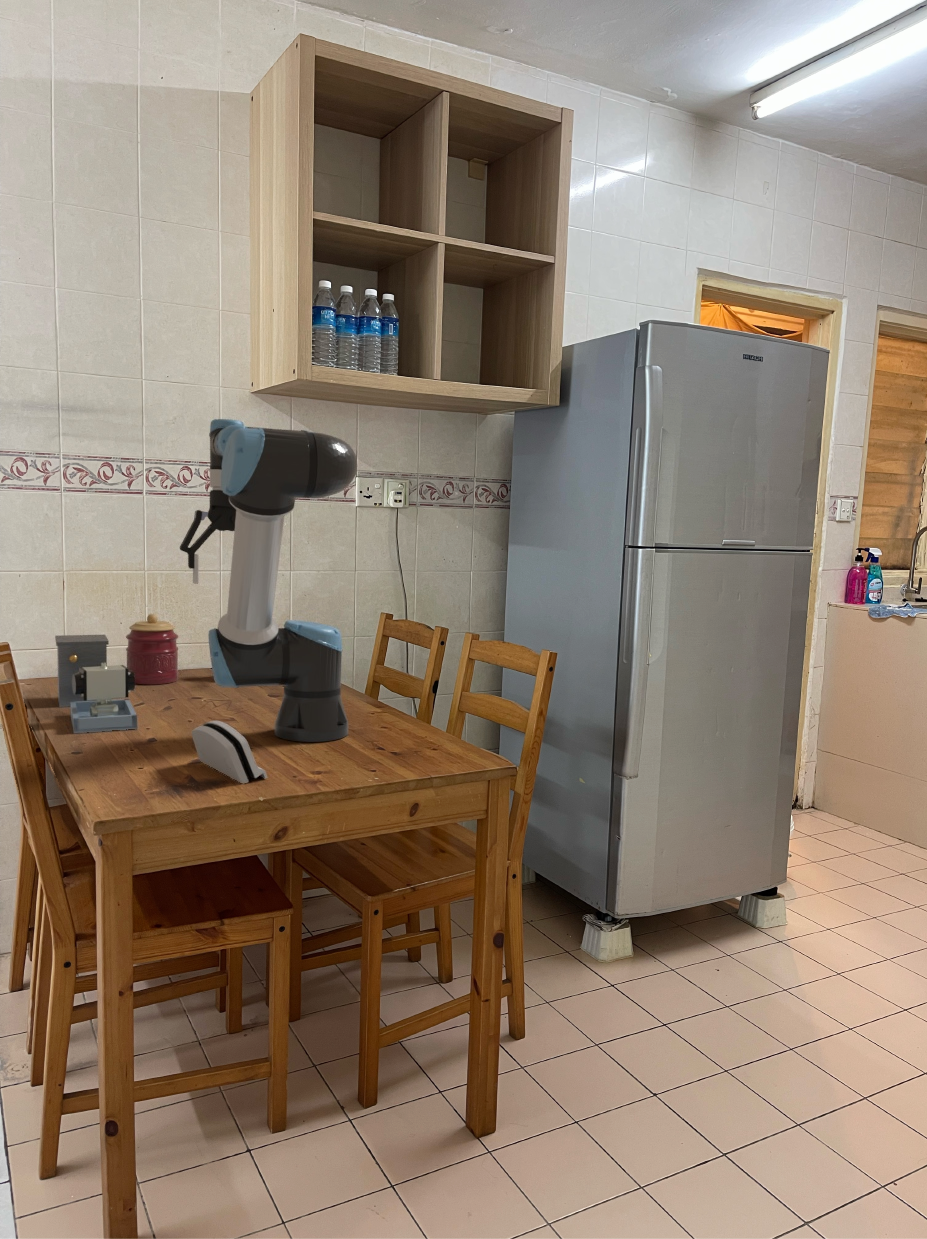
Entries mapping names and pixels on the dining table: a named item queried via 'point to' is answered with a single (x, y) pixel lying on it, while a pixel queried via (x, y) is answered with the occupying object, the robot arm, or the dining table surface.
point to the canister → (152, 651)
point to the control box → (77, 661)
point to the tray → (106, 723)
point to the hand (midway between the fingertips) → (226, 583)
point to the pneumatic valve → (103, 687)
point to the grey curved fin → (226, 751)
